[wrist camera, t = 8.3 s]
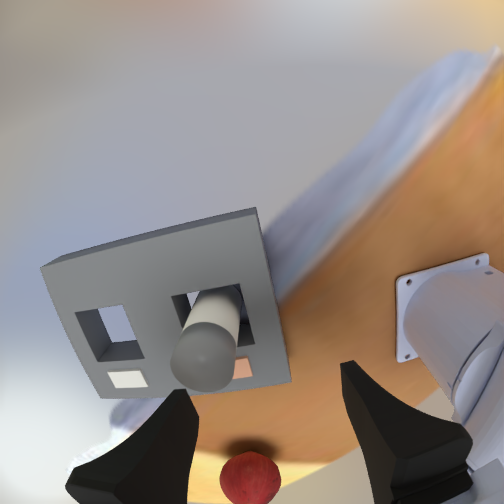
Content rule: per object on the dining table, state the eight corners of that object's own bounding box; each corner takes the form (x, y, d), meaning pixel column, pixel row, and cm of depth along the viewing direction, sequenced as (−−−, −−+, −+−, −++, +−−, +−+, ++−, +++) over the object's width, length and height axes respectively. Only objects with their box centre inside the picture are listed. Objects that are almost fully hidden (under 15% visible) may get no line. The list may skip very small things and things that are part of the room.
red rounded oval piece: (286, 440, 26) (291, 505, 18) (270, 468, 28) (272, 526, 20) (228, 432, 26) (221, 499, 18) (219, 461, 27) (211, 520, 20)
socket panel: (256, 206, 20) (255, 215, 17) (288, 358, 23) (292, 384, 20) (60, 255, 21) (37, 269, 18) (113, 378, 24) (99, 400, 21)
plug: (236, 276, 21) (225, 337, 14) (246, 317, 22) (240, 388, 15) (192, 284, 22) (161, 346, 14) (204, 323, 22) (182, 394, 15)
